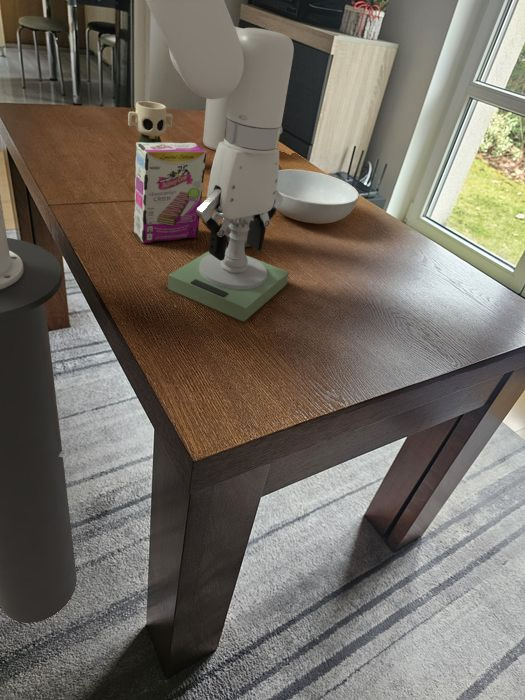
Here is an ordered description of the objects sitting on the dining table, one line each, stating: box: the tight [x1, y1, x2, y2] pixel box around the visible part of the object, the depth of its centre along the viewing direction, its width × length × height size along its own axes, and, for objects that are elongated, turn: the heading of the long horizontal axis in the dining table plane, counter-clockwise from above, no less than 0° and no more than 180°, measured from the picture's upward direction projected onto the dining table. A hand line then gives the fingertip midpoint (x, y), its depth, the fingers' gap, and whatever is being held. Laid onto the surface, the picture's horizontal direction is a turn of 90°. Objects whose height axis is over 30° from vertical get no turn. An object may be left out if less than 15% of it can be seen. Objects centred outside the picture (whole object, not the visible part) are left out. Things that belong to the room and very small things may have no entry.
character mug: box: [127, 100, 174, 143], centre depth 123 cm, size 11×7×13 cm, turn 117°
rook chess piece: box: [220, 218, 250, 274], centre depth 79 cm, size 4×4×8 cm
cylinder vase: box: [202, 95, 229, 152], centre depth 139 cm, size 12×12×25 cm
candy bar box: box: [133, 141, 207, 244], centre depth 90 cm, size 11×5×16 cm, turn 122°
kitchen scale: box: [167, 247, 290, 323], centre depth 82 cm, size 15×14×3 cm
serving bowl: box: [276, 168, 360, 225], centre depth 112 cm, size 21×21×7 cm
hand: (235, 251), depth 80 cm, fingers open, 7 cm apart
